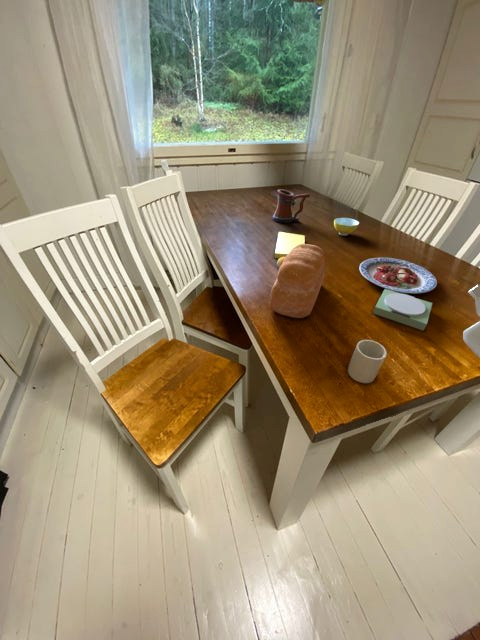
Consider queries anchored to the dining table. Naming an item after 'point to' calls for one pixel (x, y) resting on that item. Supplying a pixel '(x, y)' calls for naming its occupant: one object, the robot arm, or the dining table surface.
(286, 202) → the mug
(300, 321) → the dining table surface
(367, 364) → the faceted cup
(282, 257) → the bread roll
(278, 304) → the bread
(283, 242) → the pale yellow flat slab
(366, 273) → the ceramic plate
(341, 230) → the bowl
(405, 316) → the scale
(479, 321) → the robot arm
